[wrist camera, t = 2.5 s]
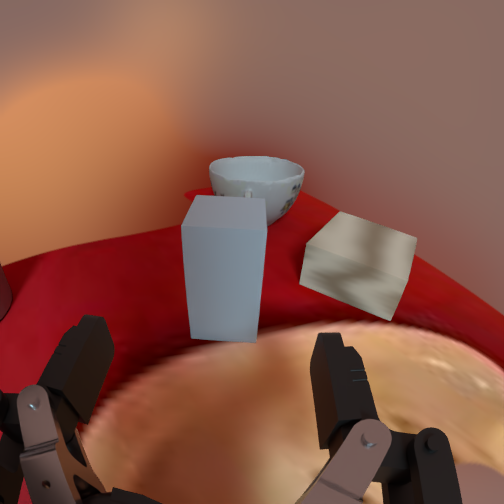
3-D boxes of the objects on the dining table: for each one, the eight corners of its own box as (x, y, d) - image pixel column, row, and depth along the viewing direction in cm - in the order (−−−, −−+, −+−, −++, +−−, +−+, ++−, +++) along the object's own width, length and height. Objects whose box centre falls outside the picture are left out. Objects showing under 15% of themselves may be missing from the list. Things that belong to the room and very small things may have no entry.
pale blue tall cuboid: (191, 338, 23) (181, 225, 18) (200, 297, 28) (196, 195, 22) (256, 342, 23) (266, 230, 18) (256, 300, 28) (265, 198, 22)
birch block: (298, 285, 30) (306, 243, 28) (332, 246, 38) (339, 211, 35) (389, 323, 26) (407, 281, 23) (404, 273, 33) (417, 238, 31)
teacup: (220, 199, 48) (221, 151, 44) (297, 207, 47) (303, 159, 43) (191, 244, 36) (189, 180, 31) (297, 257, 34) (306, 191, 30)
